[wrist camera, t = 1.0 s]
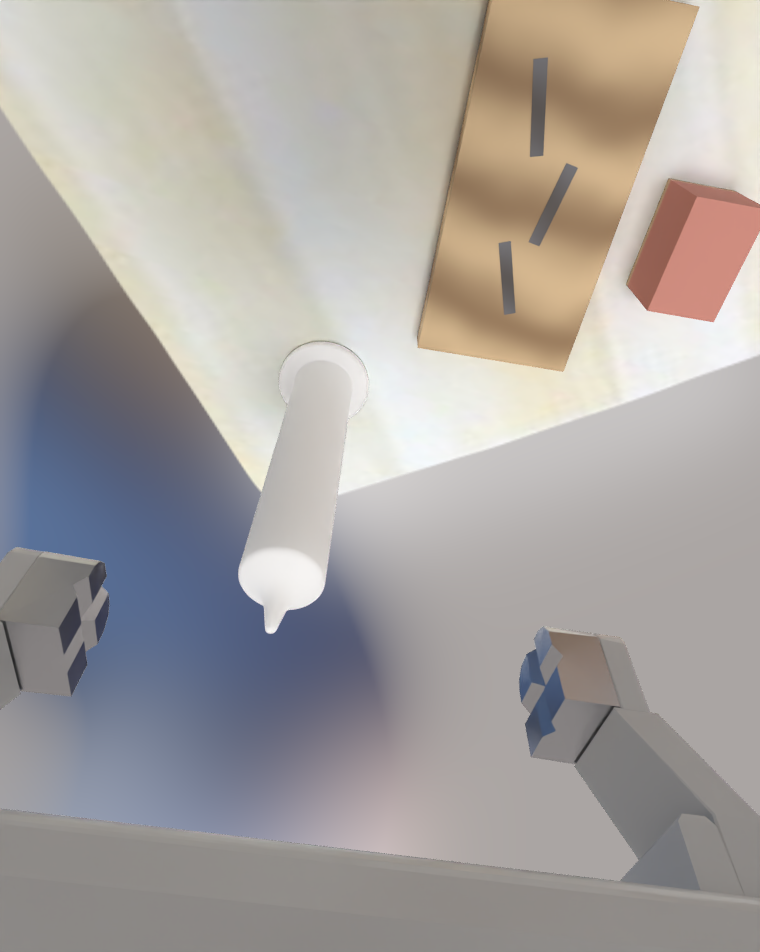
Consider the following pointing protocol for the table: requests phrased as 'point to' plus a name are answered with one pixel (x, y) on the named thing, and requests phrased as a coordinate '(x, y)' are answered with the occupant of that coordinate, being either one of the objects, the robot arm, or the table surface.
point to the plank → (546, 170)
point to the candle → (302, 480)
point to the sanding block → (694, 249)
